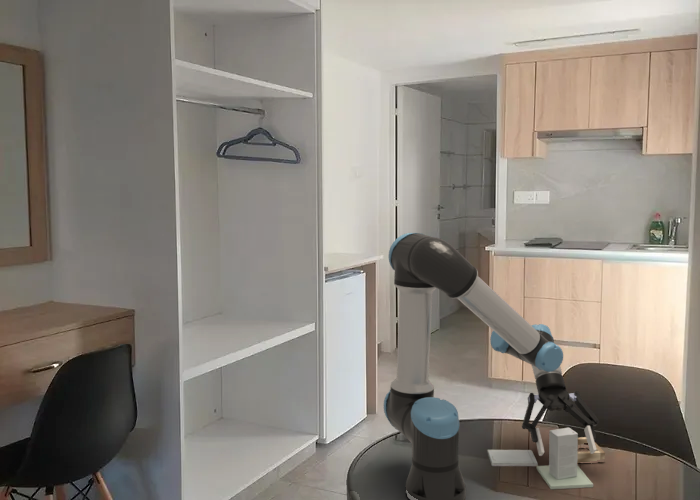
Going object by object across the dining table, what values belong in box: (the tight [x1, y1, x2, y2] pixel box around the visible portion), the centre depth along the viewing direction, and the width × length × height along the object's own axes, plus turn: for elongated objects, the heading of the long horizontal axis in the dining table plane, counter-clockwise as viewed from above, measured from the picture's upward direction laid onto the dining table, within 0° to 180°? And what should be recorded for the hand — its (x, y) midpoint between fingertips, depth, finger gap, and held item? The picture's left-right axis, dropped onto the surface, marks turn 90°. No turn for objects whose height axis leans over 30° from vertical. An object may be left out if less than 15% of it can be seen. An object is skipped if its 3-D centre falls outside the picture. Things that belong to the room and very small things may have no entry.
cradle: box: [577, 436, 606, 463], centre depth 185 cm, size 10×10×3 cm
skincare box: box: [548, 427, 579, 480], centre depth 172 cm, size 6×4×12 cm
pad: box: [536, 464, 594, 490], centre depth 173 cm, size 11×11×1 cm
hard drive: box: [486, 449, 539, 467], centre depth 184 cm, size 2×8×12 cm
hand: (567, 453), depth 170 cm, fingers open, 13 cm apart
